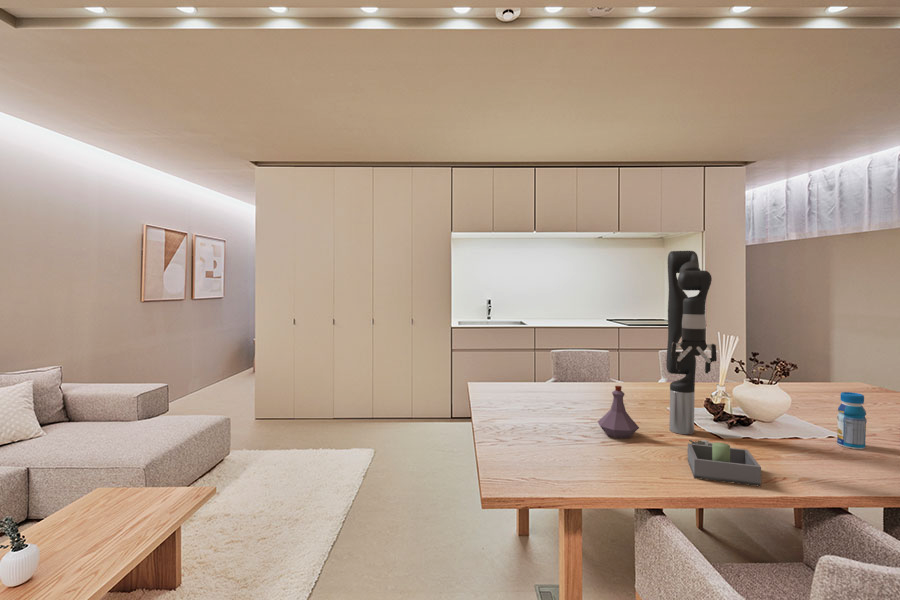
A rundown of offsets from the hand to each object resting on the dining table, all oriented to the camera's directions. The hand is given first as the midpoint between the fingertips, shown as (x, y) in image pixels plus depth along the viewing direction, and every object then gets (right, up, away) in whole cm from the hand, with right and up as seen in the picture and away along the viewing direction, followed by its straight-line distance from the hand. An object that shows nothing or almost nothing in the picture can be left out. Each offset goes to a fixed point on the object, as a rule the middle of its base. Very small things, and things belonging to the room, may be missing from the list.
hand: (693, 372), depth 165 cm
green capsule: (+2, -30, -14) cm, 33 cm away
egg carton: (+8, -30, +5) cm, 32 cm away
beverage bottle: (+65, -30, +11) cm, 73 cm away
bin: (+2, -31, -14) cm, 34 cm away
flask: (-18, -30, +25) cm, 42 cm away
